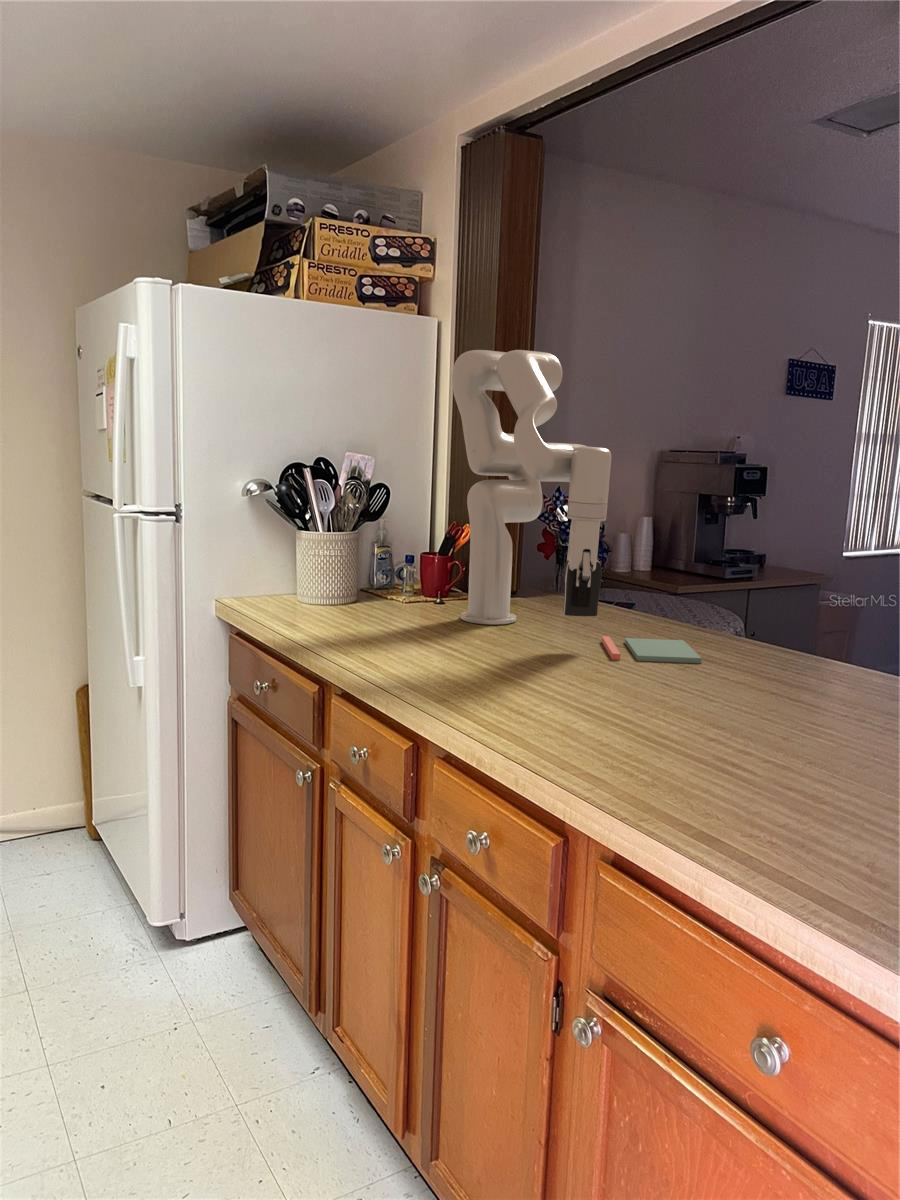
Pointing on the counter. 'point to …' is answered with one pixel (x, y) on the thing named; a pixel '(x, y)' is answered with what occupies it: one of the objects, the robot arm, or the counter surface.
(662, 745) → the counter surface
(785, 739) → the counter surface
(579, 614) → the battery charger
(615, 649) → the bar
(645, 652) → the mat
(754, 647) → the counter surface
